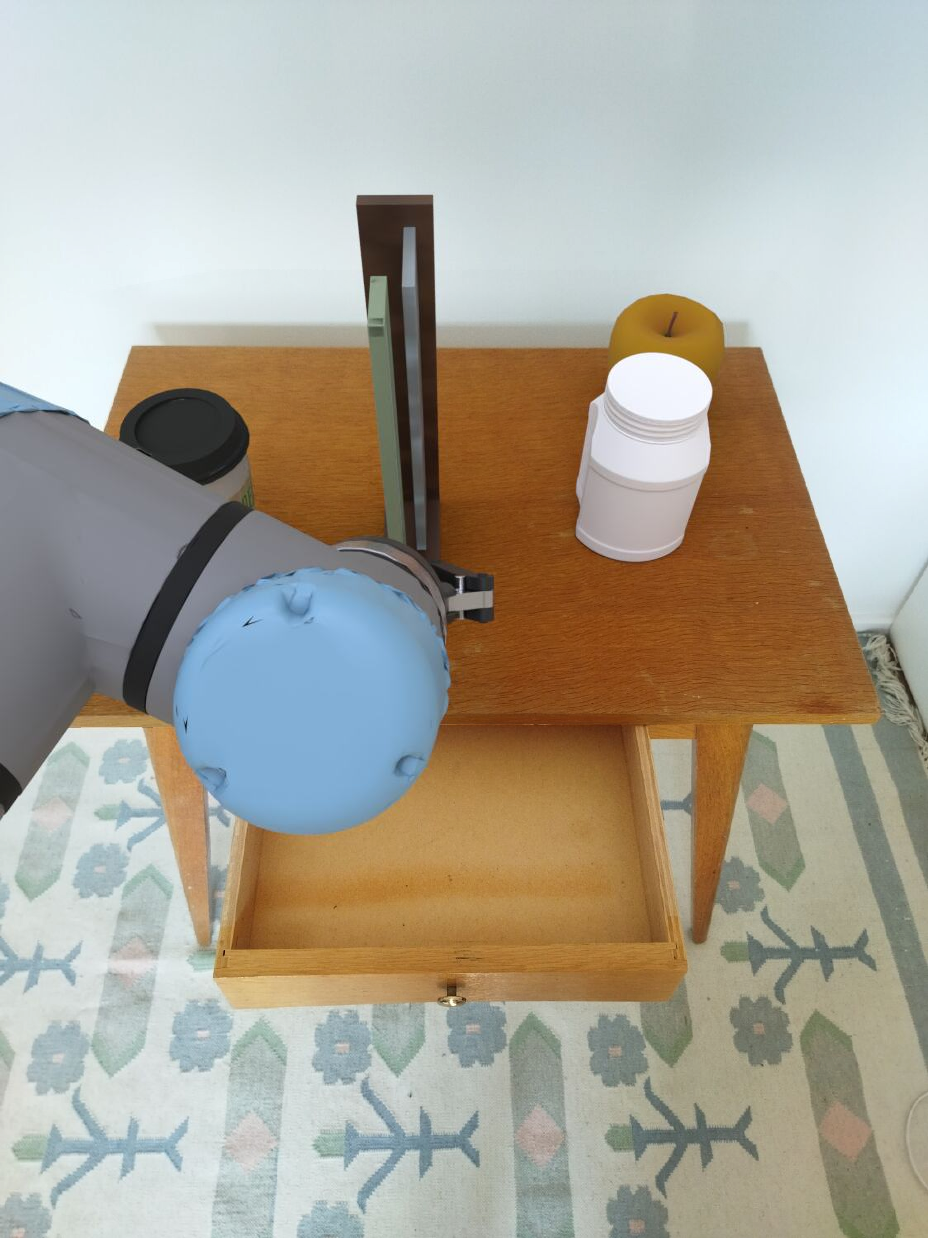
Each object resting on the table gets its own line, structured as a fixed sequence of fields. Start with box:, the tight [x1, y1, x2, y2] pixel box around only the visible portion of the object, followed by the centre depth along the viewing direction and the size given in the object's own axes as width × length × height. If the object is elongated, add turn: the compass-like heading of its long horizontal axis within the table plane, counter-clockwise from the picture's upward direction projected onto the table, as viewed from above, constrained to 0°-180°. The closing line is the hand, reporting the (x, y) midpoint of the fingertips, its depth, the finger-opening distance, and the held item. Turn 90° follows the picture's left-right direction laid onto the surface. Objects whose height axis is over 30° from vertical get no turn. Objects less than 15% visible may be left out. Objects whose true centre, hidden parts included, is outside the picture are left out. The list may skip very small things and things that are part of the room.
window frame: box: [355, 194, 441, 562], centre depth 61 cm, size 5×14×29 cm, turn 1°
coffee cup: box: [118, 387, 256, 510], centre depth 67 cm, size 10×10×15 cm
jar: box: [575, 353, 713, 563], centre depth 70 cm, size 12×10×15 cm
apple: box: [607, 293, 726, 389], centre depth 79 cm, size 11×11×13 cm
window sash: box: [366, 276, 406, 545], centre depth 59 cm, size 1×5×26 cm, turn 2°
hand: (396, 568), depth 60 cm, fingers closed
